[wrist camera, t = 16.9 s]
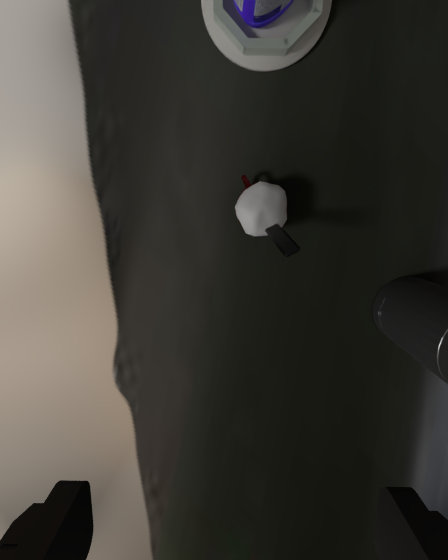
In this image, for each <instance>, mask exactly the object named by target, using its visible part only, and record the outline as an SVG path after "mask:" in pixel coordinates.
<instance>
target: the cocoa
mask: <svg viewBox="0 0 448 560" xmlns="http://www.w3.org/2000/svg"><path fill="white" fill-rule="evenodd" d="M241 178H242V180H243V183H244V185H245V187H246V188H245V189H244V190H243V192H242V193H241V195H240V196H239V198H238V199H237V204H236V206H235V209H236V214H237V217H238V221H239V223H240V224H241V225H242V227H243V229H244V231H245V233H247V234H249V235H252V236H266V235H268V236H269V237H270V238H271V239H272V241H273V242H274V243H275V244H276V246H277V247H278V248H279V250H280V251H281V252H282V253H283V255H284V256H286V257H289V256H290V255H292V254H294V253H296V252H298V251H299V250H300V247H299V246H298V245H297V244H296V243H295V242H294V241H293V240H292V238H291V237H290V236H289V235H288V234H287V233H286V232H285V231H284V230H283V229H282V228H281V227H282V226H283V225H284V223H285V222H286V220H287V199H286V194H285V191H284V190H283V189H282V188H281V187H280V186H279V185H274V184H269V183H267V182H258V183H254V184H252V185H251V184H250V182H249V181H248V179H247V177H246V176H245V175H243V176H242V177H241Z"/></svg>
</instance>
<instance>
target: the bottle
mask: <svg viewBox="0 0 448 560" xmlns="http://www.w3.org/2000/svg"><path fill="white" fill-rule="evenodd" d="M233 1H234V4H235V7H236V9H237V11H238V13H239V14H240V16H241V17H242V19H243V20H244V22H245V23H246V24H247V25H249V26H250V27H252V28H261V27H264V26H266V25H268V24H270V23H272V22H273V21H275V20H276V19H277V18H279V17H280V16H281V15H282V14H283V13H284V12H285V11H286V10H287V9H288V8H289V6H290V5H291V4H292V2H293V0H233Z"/></svg>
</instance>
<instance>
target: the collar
mask: <svg viewBox="0 0 448 560" xmlns="http://www.w3.org/2000/svg"><path fill="white" fill-rule="evenodd" d="M331 3H332V0H293V2H292V4H291V5H290V6H289V8H288V9H287V10H286V11H285V12H284V13H283V14H282V15H281V16H280V17H279V18H277V19H276V20H275V21H273V22H272V23H270V24H268V25H266V26H264V27H261V28H252V27H250V26H249V25H247V24H246V23H245V22H244V20H243V19H242V17H241V16H240V14H239V13H238V11H237V9H236V7H235V4H234V1H233V0H201V4H202V12H203V18H204V22H205V25H206V28H207V31H208V33H209V35H210V37H211V39H212V41H213V42H214V44H215V45H216V47H217V48H218V49H219V51H220V52H221V53H222V54H223V55H224V56H225V57H226V58H227V59H229V60H230V61H231V62H233V63H234V64H236V65H238V66H240V67H242V68H245V69H247V70H251V71H256V72H272V71H277V70H281V69H284V68H287V67H289V66H291V65H293V64H294V63H296V62H297V61H299V60H300V59H302V58H303V57H304V56H305V55H306V54H307V53H308V52H309V51H310V50H311V49H312V48H313V46H314V45H315V44H316V42H317V41H318V39H319V38H320V36H321V34H322V32H323V30H324V28H325V26H326V23H327V20H328V18H329V14H330V10H331Z"/></svg>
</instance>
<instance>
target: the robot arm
mask: <svg viewBox="0 0 448 560" xmlns="http://www.w3.org/2000/svg"><path fill="white" fill-rule="evenodd" d="M373 317H374V322H375V324H376V326H377V327H378V329H379V330H380V331H381V332H382V333H383V334H385V335H386V336H387V337H388V338H390V339H391V340H392V341H393V342H395V343H396V344H397V345H398V346H400V347H401V348H402V349H403V350H405V351H406V352H407V353H409V354H410V355H411V356H412V357H414V358H415V359H416V360H418V361H419V362H420V363H421V364H423V365H424V366H425V367H427V368H428V369H429V370H430V371H432V372H433V373H434V374H436V375H437V376H438V377H439V378H441V379H442V380H443V381H444V382H446V383H447V384H448V288H447V287H444V286H441V285H439V284H436V283H433V282H430V281H427V280H424V279H421V278H417V277H403V278H399V279H396V280H394V281H392V282H390V283H389V284H387V285H386V286H385V287H384V288H383V289H382V290H381V291H380V292H379V294H378V295H377V297H376V300H375V302H374V306H373ZM92 536H93V515H92V504H91V492H90V484H89V482H88V481H59V482H57V483H56V485H55V486H54V488H53V489H52V491H51V492H50V494H49V496H48V497H47V499H46V500H45V502H44V503H33V504H32V505H31V506H30V507H29V508H28V509H27V510H26V511H25V512H23V513H22V514H21V515H20V516H19V517H18V518H17V519H16V520H14V521H13V523H12V524H11V525H10V527H9V529H8V530H7V531H6V533H5V534H4V536H3V537H2V539H1V540H0V560H86V558H87V555H88V553H89V550H90V546H91V542H92ZM374 541H375V547H376V551H377V555H378V558H379V560H448V520H447V519H446V518H445V517H444V516H443V515H441V514H440V513H439V512H438V511H429V510H428V509H427V507H426V506H425V504H424V503H423V501H422V500H421V498H420V497H419V496H418V494H417V493H416V491H415V490H414V489H412V488H410V487H381V489H380V491H379V497H378V504H377V512H376V519H375V526H374Z"/></svg>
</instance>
